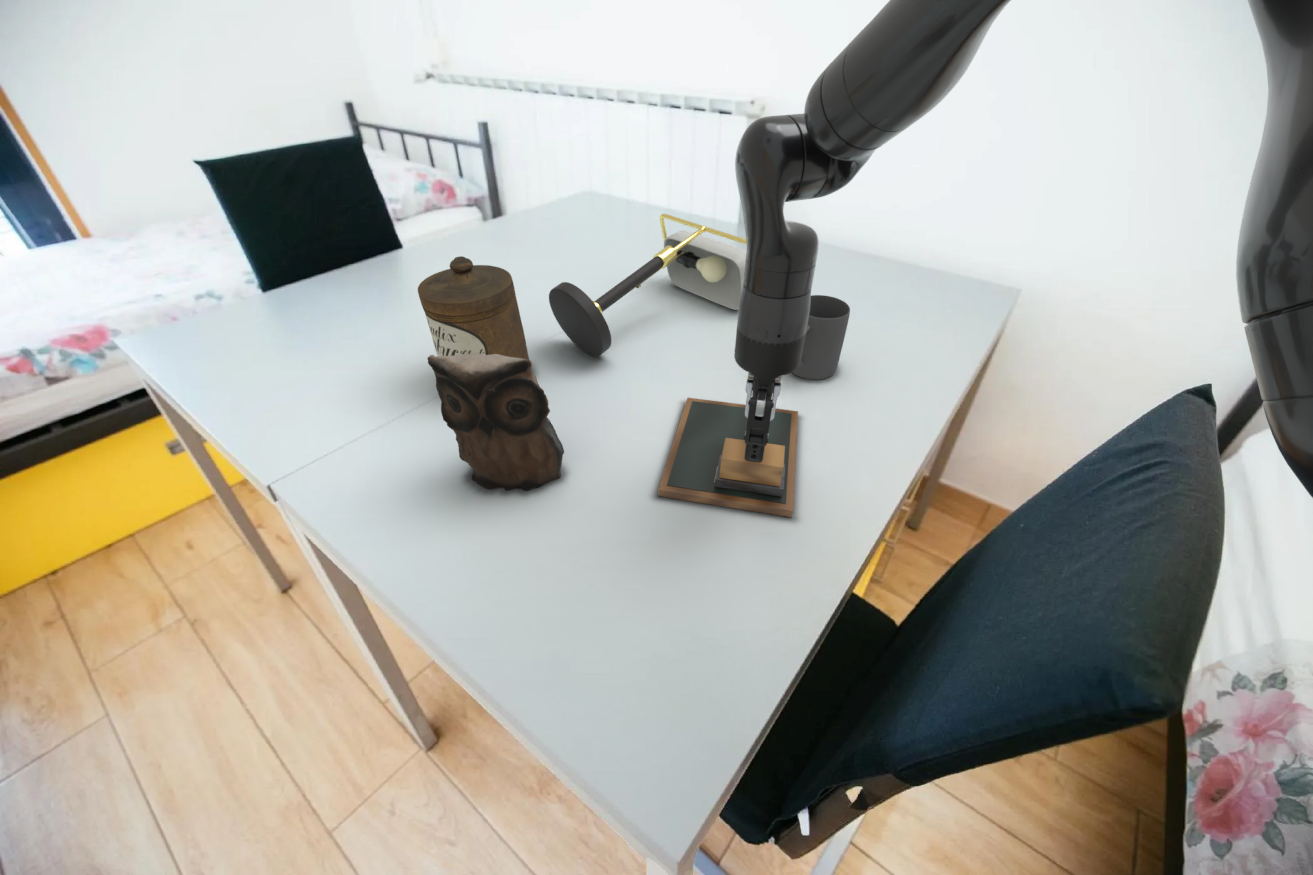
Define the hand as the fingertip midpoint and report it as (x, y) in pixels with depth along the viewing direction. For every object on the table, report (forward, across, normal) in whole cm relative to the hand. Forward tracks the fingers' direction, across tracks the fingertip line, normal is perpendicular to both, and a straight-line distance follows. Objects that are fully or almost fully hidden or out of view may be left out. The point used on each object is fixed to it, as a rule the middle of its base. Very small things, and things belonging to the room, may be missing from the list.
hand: (756, 438), depth 69 cm
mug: (+9, +32, -7) cm, 34 cm away
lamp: (+9, +45, +24) cm, 52 cm away
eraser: (+8, 0, 0) cm, 8 cm away
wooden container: (+9, +18, +48) cm, 52 cm away
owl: (+9, -2, +33) cm, 34 cm away
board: (+9, +7, +3) cm, 12 cm away
